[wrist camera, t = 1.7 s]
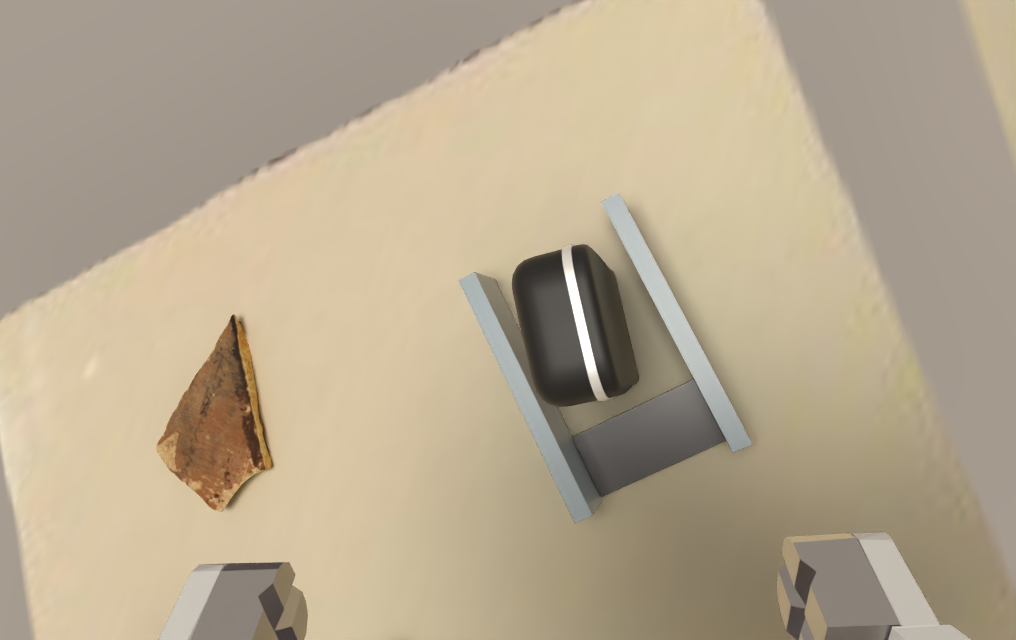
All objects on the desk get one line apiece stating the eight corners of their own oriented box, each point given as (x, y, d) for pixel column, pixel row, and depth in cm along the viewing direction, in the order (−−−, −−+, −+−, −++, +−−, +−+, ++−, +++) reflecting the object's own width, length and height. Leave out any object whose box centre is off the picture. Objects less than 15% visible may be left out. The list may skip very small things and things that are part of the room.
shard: (247, 315, 46) (229, 313, 44) (332, 382, 44) (317, 383, 42) (165, 447, 47) (145, 451, 45) (244, 517, 45) (227, 524, 44)
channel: (625, 207, 39) (618, 192, 35) (746, 434, 37) (752, 444, 33) (480, 287, 41) (458, 280, 37) (586, 506, 39) (575, 523, 35)
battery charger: (548, 281, 40) (494, 255, 29) (613, 265, 39) (582, 231, 28) (575, 400, 39) (529, 419, 28) (641, 386, 39) (621, 400, 28)
